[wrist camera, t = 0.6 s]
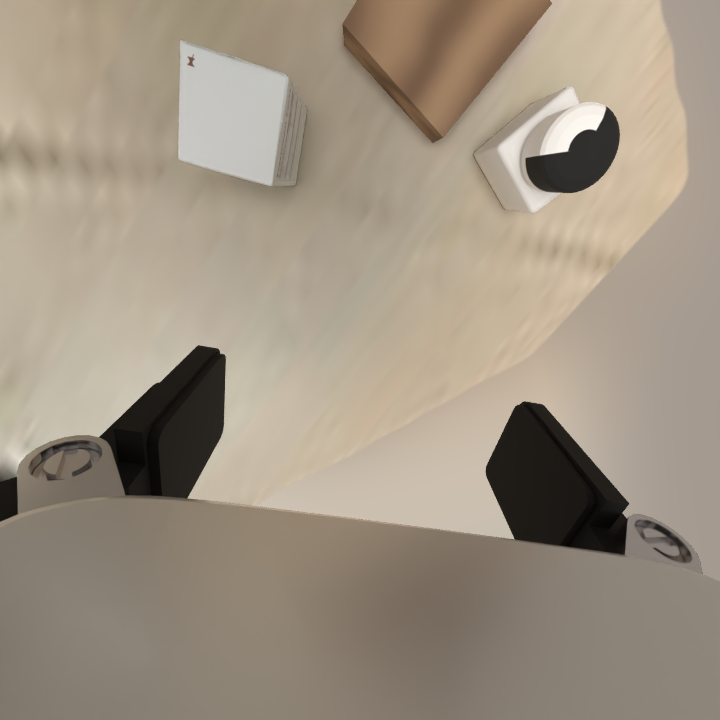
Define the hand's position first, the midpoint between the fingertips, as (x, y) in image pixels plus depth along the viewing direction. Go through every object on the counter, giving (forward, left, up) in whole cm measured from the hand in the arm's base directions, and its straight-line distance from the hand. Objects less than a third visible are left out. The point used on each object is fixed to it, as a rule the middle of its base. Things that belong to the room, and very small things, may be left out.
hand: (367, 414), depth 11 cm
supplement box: (-14, +2, -33) cm, 36 cm away
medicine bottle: (+7, +18, -33) cm, 39 cm away
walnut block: (-7, +19, -34) cm, 39 cm away
